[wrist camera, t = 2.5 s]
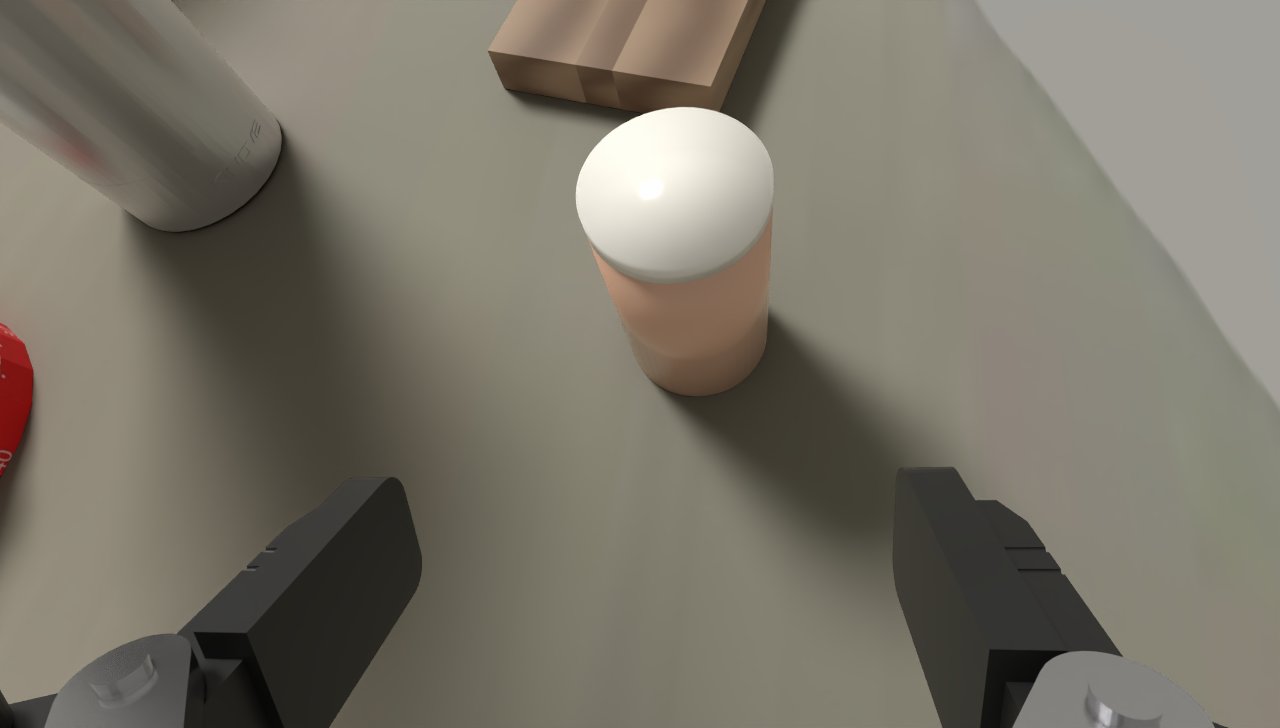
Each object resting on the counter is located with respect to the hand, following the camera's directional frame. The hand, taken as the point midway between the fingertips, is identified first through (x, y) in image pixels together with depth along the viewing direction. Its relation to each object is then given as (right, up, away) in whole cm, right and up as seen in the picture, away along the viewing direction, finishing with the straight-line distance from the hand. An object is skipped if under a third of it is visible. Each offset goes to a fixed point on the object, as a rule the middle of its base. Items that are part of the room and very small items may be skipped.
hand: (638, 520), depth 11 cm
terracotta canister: (+3, +4, +18) cm, 18 cm away
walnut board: (0, +21, +26) cm, 33 cm away
